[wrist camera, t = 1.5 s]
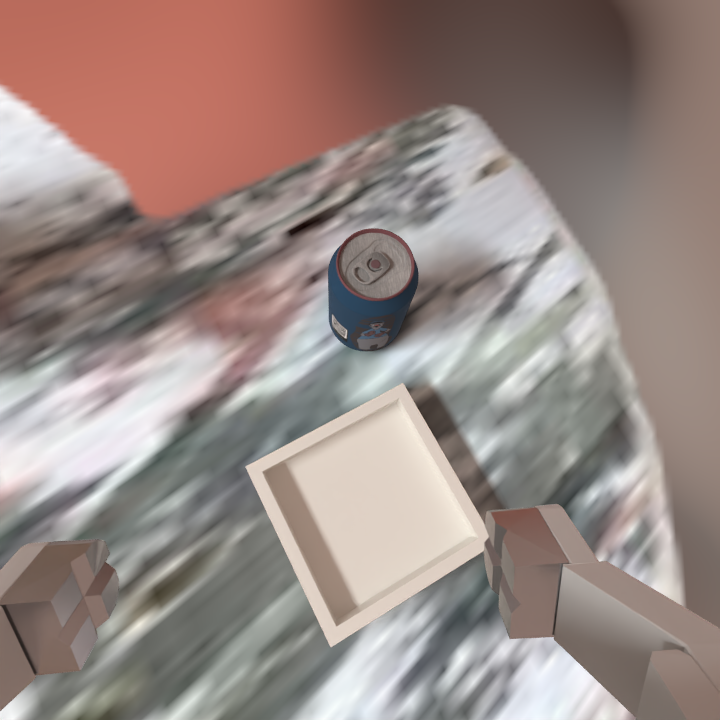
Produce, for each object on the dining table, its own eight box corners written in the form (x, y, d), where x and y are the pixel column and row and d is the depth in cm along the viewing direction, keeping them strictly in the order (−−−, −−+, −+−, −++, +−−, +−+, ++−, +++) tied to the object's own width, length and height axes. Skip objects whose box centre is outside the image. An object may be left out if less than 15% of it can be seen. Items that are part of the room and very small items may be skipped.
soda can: (367, 275, 46) (379, 204, 35) (414, 325, 45) (442, 268, 33) (314, 317, 45) (308, 256, 33) (361, 369, 43) (371, 326, 32)
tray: (251, 468, 40) (245, 466, 38) (398, 390, 43) (403, 382, 40) (330, 635, 37) (330, 647, 34) (483, 539, 40) (495, 543, 37)
